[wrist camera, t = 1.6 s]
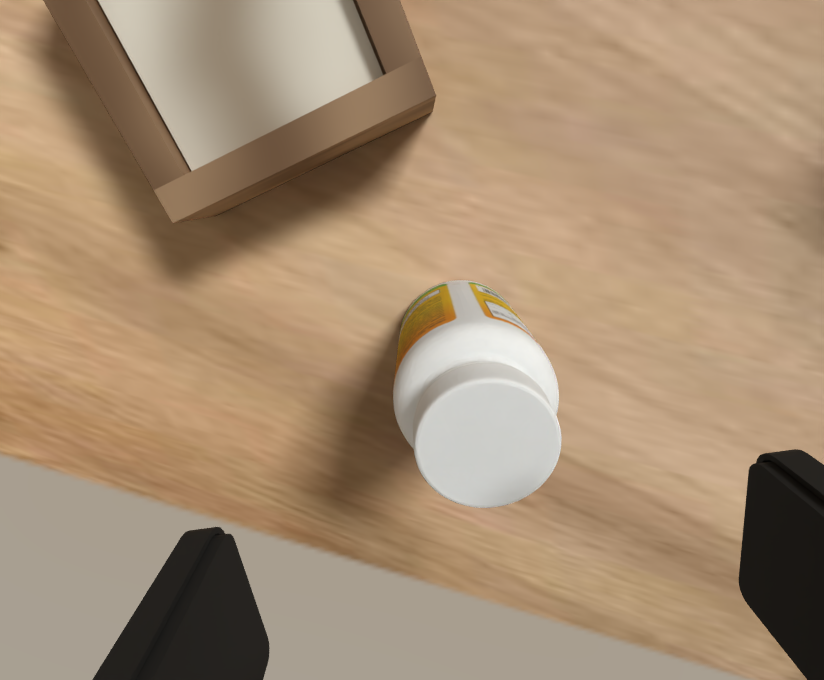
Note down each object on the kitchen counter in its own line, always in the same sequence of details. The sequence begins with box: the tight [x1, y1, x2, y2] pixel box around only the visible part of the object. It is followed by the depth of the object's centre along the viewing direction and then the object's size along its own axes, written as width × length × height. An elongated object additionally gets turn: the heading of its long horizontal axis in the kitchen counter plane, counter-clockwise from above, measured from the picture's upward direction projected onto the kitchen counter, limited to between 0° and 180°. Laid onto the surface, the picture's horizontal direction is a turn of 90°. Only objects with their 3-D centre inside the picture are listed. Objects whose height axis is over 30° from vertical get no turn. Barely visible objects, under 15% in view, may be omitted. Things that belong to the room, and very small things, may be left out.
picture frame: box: [43, 0, 436, 223], centre depth 16 cm, size 10×10×4 cm
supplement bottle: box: [393, 280, 561, 508], centre depth 17 cm, size 5×5×10 cm
